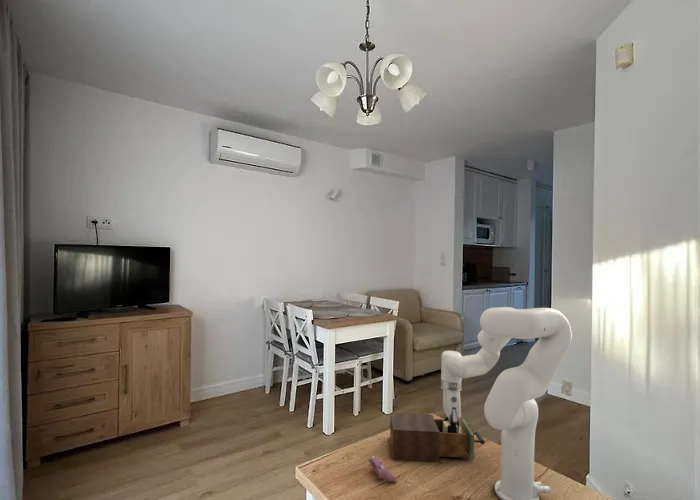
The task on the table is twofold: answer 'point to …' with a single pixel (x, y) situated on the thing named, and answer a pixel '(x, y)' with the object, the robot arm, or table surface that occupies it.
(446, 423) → the block
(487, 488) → the table surface
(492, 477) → the table surface
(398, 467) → the table surface
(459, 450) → the drawer
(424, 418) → the cabinet
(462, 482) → the table surface
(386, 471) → the pink rounded piece
